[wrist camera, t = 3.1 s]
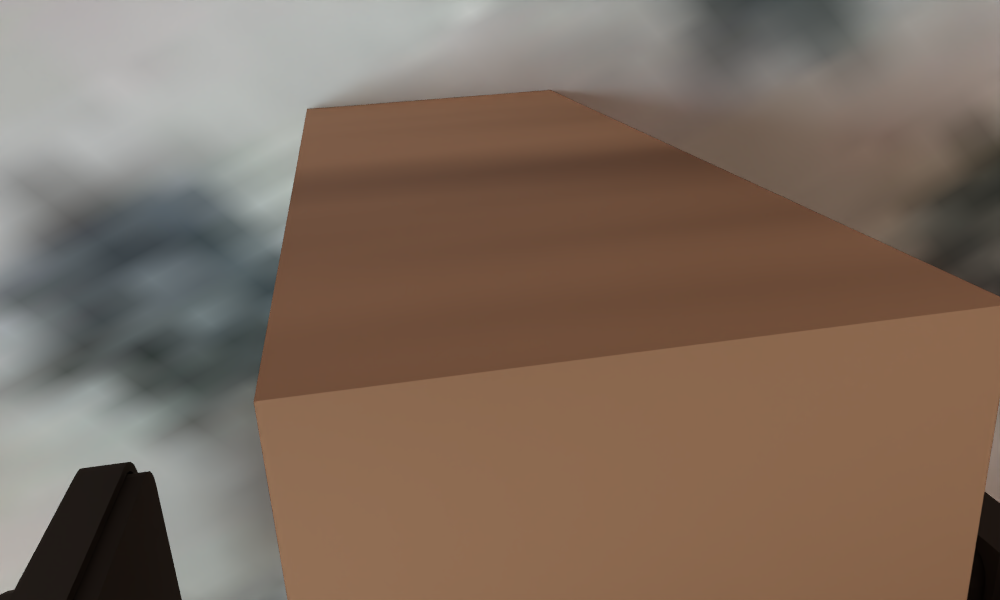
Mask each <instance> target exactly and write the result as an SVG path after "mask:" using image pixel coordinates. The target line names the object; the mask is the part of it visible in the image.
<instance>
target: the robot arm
mask: <svg viewBox="0 0 1000 600" xmlns="http://www.w3.org/2000/svg"><path fill="white" fill-rule="evenodd" d="M0 600H182V599H181V595H180V590H179V586H178V581H177V577H176V572H175V568H174V563H173V559H172V554H171V550H170V545H169V541H168V536H167V532H166V527H165V523H164V518H163V514H162V509H161V505H160V500H159V496H158V491H157V487H156V483H155V479H154V477H153V475H152V473H151V472H150V471H149V472H141V473H138V472H137V470H136V468H135V466H134V464H133V463H131V462H126V463H119V464H111V465H104V466H96V467H89V468H82V469H80V470H79V471H78V472H77V473H76V475H75V477H74V479H73V481H72V483H71V484H70V486H69V488H68V490H67V492H66V494H65V496H64V498H63V500H62V501H61V503H60V505H59V507H58V509H57V511H56V513H55V515H54V516H53V518H52V520H51V522H50V524H49V526H48V528H47V530H46V531H45V533H44V535H43V537H42V539H41V541H40V543H39V545H38V547H37V548H36V550H35V552H34V554H33V556H32V558H31V560H30V562H29V563H28V565H27V567H26V569H25V571H24V573H23V575H22V577H21V578H20V580H19V582H18V584H17V586H16V588H15V590H10V591H7V592H5V593H3V594H1V595H0ZM967 600H1000V503H999V502H997V501H996V500H995V499H993V498H992V497H991V496H990V495H988V494H987V493H986V492H984V497H983V503H982V509H981V516H980V522H979V528H978V534H977V540H976V546H975V552H974V559H973V565H972V571H971V577H970V583H969V589H968V595H967Z"/></svg>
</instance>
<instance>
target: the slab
mask: <svg viewBox="0 0 1000 600" xmlns="http://www.w3.org/2000/svg"><path fill="white" fill-rule="evenodd" d="M999 399H1000V297H999V296H997V295H995V294H993V293H990V292H988V291H986V290H984V289H982V288H980V287H977V286H975V285H973V284H971V283H969V282H967V281H964V280H962V279H960V278H958V277H956V276H954V275H951V274H949V273H947V272H945V271H943V270H940V269H938V268H936V267H934V266H932V265H930V264H927V263H925V262H923V261H921V260H919V259H917V258H914V257H912V256H910V255H908V254H906V253H904V252H901V251H899V250H897V249H895V248H893V247H891V246H888V245H886V244H884V243H882V242H880V241H877V240H875V239H873V238H871V237H869V236H867V235H864V234H862V233H860V232H858V231H856V230H854V229H851V228H849V227H847V226H845V225H843V224H841V223H838V222H836V221H834V220H832V219H830V218H827V217H825V216H823V215H821V214H819V213H817V212H814V211H812V210H810V209H808V208H806V207H804V206H801V205H799V204H797V203H795V202H793V201H791V200H788V199H786V198H784V197H782V196H780V195H778V194H775V193H773V192H771V191H769V190H767V189H764V188H762V187H760V186H758V185H756V184H754V183H751V182H749V181H747V180H745V179H743V178H741V177H738V176H736V175H734V174H732V173H730V172H728V171H725V170H723V169H721V168H719V167H717V166H715V165H712V164H710V163H708V162H706V161H704V160H701V159H699V158H697V157H695V156H693V155H691V154H688V153H686V152H684V151H682V150H680V149H678V148H675V147H673V146H671V145H669V144H667V143H665V142H662V141H660V140H658V139H656V138H654V137H651V136H649V135H647V134H645V133H643V132H641V131H638V130H636V129H634V128H632V127H630V126H628V125H625V124H623V123H621V122H619V121H617V120H615V119H612V118H610V117H608V116H606V115H604V114H602V113H599V112H597V111H595V110H593V109H591V108H588V107H586V106H584V105H582V104H580V103H578V102H575V101H573V100H571V99H569V98H567V97H565V96H562V95H560V94H558V93H556V92H554V91H552V90H544V91H532V92H519V93H506V94H494V95H481V96H468V97H456V98H443V99H430V100H417V101H405V102H392V103H379V104H367V105H354V106H341V107H329V108H316V109H307V113H306V118H305V124H304V129H303V135H302V140H301V146H300V151H299V156H298V162H297V167H296V173H295V178H294V184H293V189H292V195H291V200H290V206H289V211H288V217H287V222H286V228H285V233H284V239H283V244H282V249H281V255H280V260H279V266H278V271H277V277H276V282H275V288H274V293H273V299H272V304H271V310H270V315H269V321H268V326H267V332H266V337H265V342H264V348H263V353H262V359H261V364H260V370H259V375H258V381H257V386H256V392H255V397H254V406H255V412H256V418H257V424H258V430H259V435H260V441H261V447H262V453H263V459H264V465H265V470H266V476H267V482H268V488H269V494H270V500H271V506H272V511H273V517H274V523H275V529H276V535H277V541H278V546H279V552H280V558H281V564H282V570H283V576H284V581H285V587H286V593H287V599H288V600H967V595H968V589H969V583H970V577H971V571H972V565H973V559H974V552H975V546H976V540H977V534H978V528H979V522H980V516H981V509H982V503H983V497H984V491H985V485H986V479H987V472H988V466H989V460H990V454H991V448H992V442H993V436H994V429H995V423H996V417H997V411H998V405H999Z"/></svg>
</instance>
